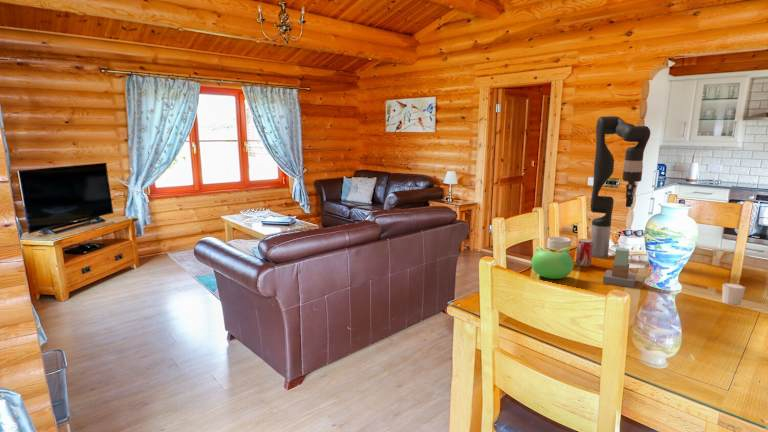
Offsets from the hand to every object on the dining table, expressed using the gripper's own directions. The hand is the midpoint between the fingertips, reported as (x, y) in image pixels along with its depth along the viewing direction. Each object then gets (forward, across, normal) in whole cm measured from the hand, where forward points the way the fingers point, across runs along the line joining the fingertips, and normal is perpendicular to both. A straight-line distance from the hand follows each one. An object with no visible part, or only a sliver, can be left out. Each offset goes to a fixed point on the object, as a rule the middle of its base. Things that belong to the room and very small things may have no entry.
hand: (629, 205), depth 193 cm
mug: (+33, -2, -30) cm, 45 cm away
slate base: (+33, +13, 0) cm, 36 cm away
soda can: (+33, -6, -18) cm, 38 cm away
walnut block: (+30, +13, 0) cm, 33 cm away
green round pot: (+33, +24, -27) cm, 49 cm away
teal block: (+25, +13, 0) cm, 28 cm away
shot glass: (+33, +17, +39) cm, 54 cm away
